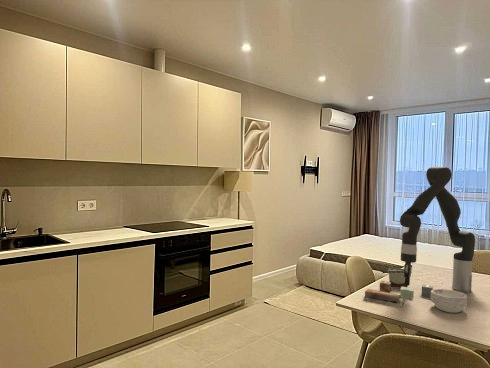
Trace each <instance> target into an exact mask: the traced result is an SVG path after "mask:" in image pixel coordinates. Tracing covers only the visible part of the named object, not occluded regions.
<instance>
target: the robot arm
mask: <svg viewBox="0 0 490 368" xmlns="http://www.w3.org/2000/svg"><path fill="white" fill-rule="evenodd" d="M452 176H453V175H452V170H451V169H450V168H449V167H448V166H447V167H446V166H430V167H428V169H427V170H426V180H427V182H428V184H429V187H428V188H427V189H425V190H424V191H423V192H421V193H419V195H418V196H417V197H416V198H415V200H414V201H413V203H412V205H411V206H410V207H408V208H407V209H406V210H405V211H404V212H403V213H401V216H400V217H399V223H400V225H401V226H402V227H404V228H408V231H405V232H403V233H402V235H401V237H402V238H401V247H400V261H401V262H404V264H403V269H404V277H405V285H407V286H408V287H409V286H410V285H411V284H410V281H411V276H412V273H413V272H412V271H413V263H417V253H418V251H417V250H418V247H417V241H418V235H419V233H420V229H421V226H422V220H421V218H420V216H421V215H423V214H425V212H426V211H427V209H428V208H429V206H430V205H431V203H432V202H433V200H434V199H435V198H436V200H437V203H438V205H439V209H440V211H441V213H442V216H443V218H444V221H445V224H446V228H447V231H448V235H449V239H450V241H451V244H452V245H454V246H455V247H459V248H462V250H461V251H460V252H459V251H458V252H455V253H454V254H453V259H452V260H453V264H452V281H451V282H452V284H451V285H452V288H451V289H453V290H454V291H457V292H463V293H464V292H465V293H467V292H469V293H471V292H472V281H473V280H472V279H473V259H474V255H475V247H476V236H475V234H474V233H473V232H469V231H464V230H460V226H459V224H458V223H459V219H460V216H461V213H462V209H461V207H460V205H459V202H458V200H457V198H455V196H454V195H453V194H452V193H450V192H449V191H448V190H447V188H446V186H447V184H448V183H449V182H450V181H451V179H452Z"/></svg>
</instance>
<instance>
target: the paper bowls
mask: <svg viewBox="0 0 490 368" xmlns="http://www.w3.org/2000/svg"><path fill="white" fill-rule="evenodd" d="M429 298H430V299H429V300H430V302H432V304H434V306H435V308H436V309H438V310H439V311H442V312H446V313H451V314H452V313H454V314H457V313H460V312H462V310H463V309H465V308H467V307H468V306H467V305H468V295H467V294H465V293H464V292H462V291H458V290H454V289H453V290H451V289H445V288H444V289H443V288H433V290H431V297H429Z"/></svg>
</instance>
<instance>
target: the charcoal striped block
mask: <svg viewBox="0 0 490 368" xmlns="http://www.w3.org/2000/svg"><path fill="white" fill-rule="evenodd" d="M433 289H434V285H429V284H422V285H421V296H422V297H426V298H430V297H431V290H433Z"/></svg>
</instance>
